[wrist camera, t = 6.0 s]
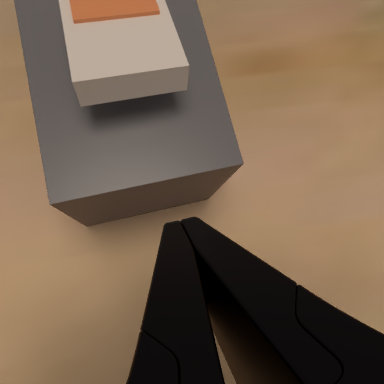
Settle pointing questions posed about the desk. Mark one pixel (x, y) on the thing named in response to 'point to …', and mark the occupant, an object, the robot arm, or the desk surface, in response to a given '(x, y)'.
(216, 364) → the robot arm
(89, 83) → the rocker
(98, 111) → the switch block
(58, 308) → the desk surface
